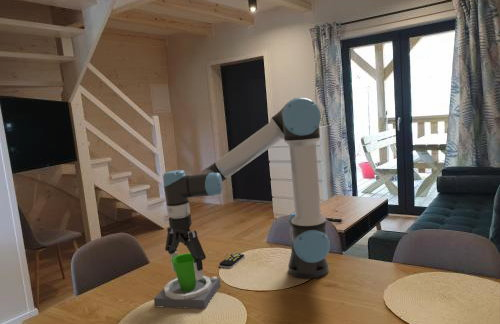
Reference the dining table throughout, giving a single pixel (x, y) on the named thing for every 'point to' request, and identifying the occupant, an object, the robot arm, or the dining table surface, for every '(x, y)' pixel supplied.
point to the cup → (185, 271)
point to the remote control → (231, 260)
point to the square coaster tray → (188, 294)
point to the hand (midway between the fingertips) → (187, 274)
